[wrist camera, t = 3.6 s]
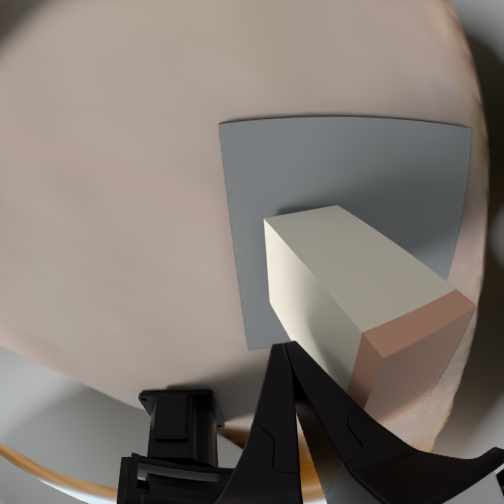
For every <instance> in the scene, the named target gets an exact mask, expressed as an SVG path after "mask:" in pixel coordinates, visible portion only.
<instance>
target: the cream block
mask: <svg viewBox="0 0 504 504" xmlns="http://www.w3.org/2000/svg"><path fill="white" fill-rule="evenodd" d="M264 228H265V242H266V256H267V270H268V284H269V299H270V304H271V306H272V307H273V309H274V311H275V313H276V314H277V316H278V318H279V320H280V322H281V323H282V325H283V327H284V329H285V330H286V332H287V334H288V336H289V337H290V339H291V341H293V340H295V341H297V342H298V343H299V344H300V345H301V346H302V347H303V348H304V350H305V351H306V352H307V353H308V354H309V355H310V356H311V357H312V358H313V359H314V360H315V361H316V362H317V363H318V364H319V365H320V366H321V367H322V368H323V369H324V370H325V371H326V372H327V373H328V374H329V375H330V376H331V377H332V378H333V380H334V381H335V382H336V383H337V384H338V385H339V386H340V387H341V388H342V389H343V390H344V391H345V392H346V393H347V394H348V395H349V396H350V397H351V398H352V399H353V400H354V402H356V403H357V404H358V405H359V406H360V407H361V408H362V409H363V410H364V411H366V412H367V413H368V414H369V415H370V416H371V417H372V418H373V419H375V420H376V421H377V422H378V423H380V424H381V425H383V424H385V423H387V422H388V421H390V420H392V419H394V418H396V417H397V416H399V415H401V414H403V413H404V412H406V411H408V410H409V409H411V408H413V407H414V406H416V405H417V404H419V403H421V402H422V401H424V400H425V399H427V398H428V397H430V395H431V393H432V392H433V390H434V389H435V387H436V385H437V384H438V382H439V380H440V379H441V377H442V375H443V373H444V372H445V370H446V368H447V366H448V364H449V363H450V361H451V359H452V357H453V355H454V353H455V351H456V349H457V347H458V345H459V343H460V341H461V339H462V337H463V335H464V333H465V331H466V329H467V327H468V324H469V322H470V320H471V318H472V315H473V313H474V311H475V308H476V305H475V304H474V303H473V302H472V301H470V300H469V299H468V298H467V297H466V296H464V295H463V294H462V293H461V292H459V291H458V290H457V289H456V288H454V287H453V286H452V285H451V284H449V283H448V282H447V281H446V280H444V279H443V278H442V277H440V276H439V275H438V274H436V273H435V272H434V271H433V270H431V269H430V268H429V267H427V266H426V265H425V264H423V263H422V262H421V261H419V260H418V259H416V258H415V257H414V256H412V255H411V254H410V253H408V252H407V251H405V250H404V249H403V248H401V247H400V246H398V245H397V244H396V243H394V242H393V241H391V240H390V239H388V238H387V237H385V236H384V235H383V234H381V233H380V232H378V231H377V230H375V229H374V228H372V227H371V226H369V225H368V224H366V223H365V222H363V221H362V220H360V219H359V218H357V217H356V216H354V215H352V214H351V213H349V212H348V211H346V210H345V209H343V208H342V207H340V206H338V205H335V206H329V207H323V208H318V209H312V210H307V211H301V212H296V213H290V214H285V215H280V216H274V217H269V218H264Z"/></svg>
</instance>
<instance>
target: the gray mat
mask: <svg viewBox="0 0 504 504" xmlns="http://www.w3.org/2000/svg"><path fill="white" fill-rule="evenodd" d="M219 133H220V142H221V150H222V159H223V167H224V175H225V184H226V192H227V200H228V208H229V216H230V223H231V231H232V239H233V246H234V254H235V261H236V269H237V276H238V283H239V290H240V298H241V305H242V312H243V319H244V326H245V333H246V339H247V346H248V350H254V349H262V348H269V347H272V344H275V343H281V342H283V343H285V342H287V341H291V339H290V337H289V336H288V334H287V332H286V330H285V329H284V327H283V325H282V323H281V322H280V320H279V318H278V316H277V314H276V313H275V311H274V309H273V307H272V306H271V304H270V299H269V284H268V270H267V256H266V242H265V228H264V218H269V217H274V216H280V215H285V214H290V213H296V212H301V211H307V210H312V209H318V208H323V207H329V206H335V205H338V206H340V207H342V208H343V209H345V210H346V211H348V212H349V213H351V214H352V215H354V216H356V217H357V218H359V219H360V220H362V221H363V222H365V223H366V224H368V225H369V226H371V227H372V228H374V229H375V230H377V231H378V232H380V233H381V234H383V235H384V236H385V237H387V238H388V239H390V240H391V241H393V242H394V243H396V244H397V245H398V246H400V247H401V248H403V249H404V250H405V251H407V252H408V253H410V254H411V255H412V256H414V257H415V258H416V259H418V260H419V261H421V262H422V263H423V264H425V265H426V266H427V267H429V268H430V269H431V270H433V271H434V272H435V273H436V274H438V275H439V276H440V277H442V278H443V279H444V280H446V279H447V276H448V272H449V268H450V265H451V261H452V257H453V253H454V249H455V245H456V241H457V237H458V232H459V228H460V223H461V218H462V212H463V207H464V201H465V194H466V188H467V180H468V172H469V163H470V152H471V137H472V129H471V128H467V127H462V126H456V125H449V124H442V123H434V122H426V121H416V120H406V119H393V118H377V117H349V116H317V117H287V118H271V119H257V120H246V121H236V122H227V123H219Z"/></svg>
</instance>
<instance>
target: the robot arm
mask: <svg viewBox="0 0 504 504" xmlns="http://www.w3.org/2000/svg"><path fill="white" fill-rule="evenodd" d="M138 399H139V400H140V402H141V403H142V405H143V406H144V408H145V409H146V411H147V412H148V413H149V415H150V416H151V422H150V431H149V441H148V452H147V457H145V456H141V455H139V454H136V453H132V455H131V457H122V459H121V468H120V476H119V485H118V494H117V504H303V499H302V491H301V478H300V462H299V447H298V433H297V420H296V413H297V416H298V419H299V422H300V425H301V428H302V431H303V434H304V437H305V440H306V443H307V446H308V449H309V451H310V454H311V457H312V460H313V463H314V466H315V469H316V472H317V475H318V478H319V481H320V484H321V487H322V489H323V492H324V495H325V498H326V501H327V504H504V469H502V470H501V471H500V472H498V473H497V474H495V472H494V470H496V469H497V468H498V467H500V466H501V465H502V464H503V463H504V449H500V448H498V447H494V448H492V449H490V450H489V451H487V452H486V453H484V454H483V455H482V456H480V457H477V458H474V459H461V458H455V457H449V456H443V455H438V454H433V453H428V452H424V451H420V450H418V449H415V448H413V447H411V446H410V445H408V444H407V443H405V442H404V441H402V440H401V439H400V438H398V437H397V436H396V435H394V434H393V433H391V432H390V431H389V430H387V429H386V428H385V427H383V426H382V425H381V424H380V423H378V422H377V421H376V420H375V419H373V418H372V417H371V416H370V415H369V414H368V413H367V412H366V411H364V410H363V409H362V408H361V407H360V406H359V405H358V404H357V403H356V402H354V400H353V399H352V398H351V397H350V396H349V395H348V394H347V393H346V392H345V391H344V390H343V389H342V388H341V387H340V386H339V385H338V384H337V383H336V382H335V381H334V380H333V378H332V377H331V376H330V375H329V374H328V373H327V372H326V371H325V370H324V369H323V368H322V367H321V366H320V365H319V364H318V363H317V362H316V361H315V360H314V359H313V358H312V357H311V356H310V355H309V354H308V353H307V352H306V351H305V350H304V348H303V347H302V346H301V345H300V344H299V343H298V342H297V341H295V340H293V341H287V342H285V343H283V342H281V343H275V344H272V347H271V351H270V355H269V359H268V363H267V368H266V372H265V376H264V380H263V384H262V388H261V392H260V396H259V400H258V403H257V407H256V411H255V415H254V419H253V422H252V426H251V429H250V433H249V436H248V439H247V442H246V445H245V447H244V450H243V452H242V455H241V457H240V459H239V461H238V464H237V466H236V468H221V467H218V453H217V432H216V429H218V428H224V427H225V422H224V419H223V417H222V414H221V411H220V408H219V406H218V403H217V400H216V397H215V394H214V392H213V391H211V390H197V391H180V392H142V393H139V397H138ZM137 476H139V477H143V478H146V479H145V481H144V480H139V479H137Z"/></svg>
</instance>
